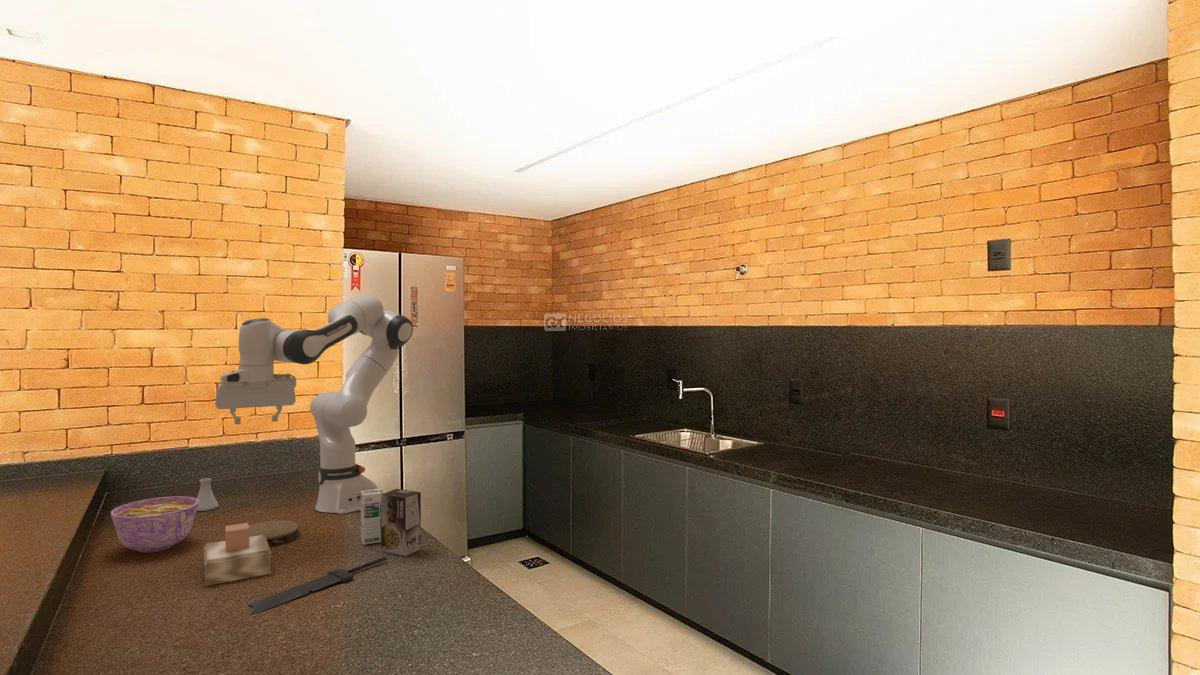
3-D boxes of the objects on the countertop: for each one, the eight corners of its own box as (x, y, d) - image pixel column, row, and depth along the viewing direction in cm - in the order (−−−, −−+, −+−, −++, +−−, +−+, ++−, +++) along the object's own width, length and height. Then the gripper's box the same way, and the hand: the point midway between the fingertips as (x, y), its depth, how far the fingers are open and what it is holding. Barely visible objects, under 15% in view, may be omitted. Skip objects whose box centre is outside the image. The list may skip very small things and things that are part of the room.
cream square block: (265, 555, 167) (265, 533, 167) (271, 573, 155) (271, 549, 155) (204, 566, 159) (204, 543, 159) (204, 586, 147) (204, 561, 147)
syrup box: (362, 545, 175) (362, 494, 175) (360, 539, 180) (360, 489, 180) (384, 542, 178) (384, 492, 177) (381, 536, 183) (381, 487, 183)
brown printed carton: (421, 549, 173) (422, 491, 172) (405, 556, 167) (405, 497, 167) (396, 544, 177) (396, 488, 176) (380, 551, 171) (380, 493, 170)
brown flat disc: (301, 542, 178) (301, 532, 178) (237, 553, 169) (237, 542, 169) (295, 526, 191) (295, 517, 191) (236, 535, 183) (236, 525, 183)
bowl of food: (208, 547, 173) (207, 506, 172) (118, 567, 158) (118, 522, 158) (188, 530, 186) (188, 492, 186) (104, 547, 172) (104, 506, 171)
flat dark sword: (239, 611, 137) (239, 602, 137) (377, 558, 165) (377, 551, 165) (254, 619, 133) (254, 610, 133) (394, 564, 161) (394, 557, 161)
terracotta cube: (247, 541, 160) (247, 522, 160) (249, 547, 156) (249, 528, 156) (225, 545, 158) (225, 526, 158) (226, 551, 153) (226, 531, 153)
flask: (205, 512, 204) (205, 482, 204) (187, 511, 205) (187, 481, 205) (223, 506, 211) (223, 477, 211) (205, 505, 212) (205, 476, 212)
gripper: (294, 372, 186) (294, 418, 186) (214, 375, 175) (215, 423, 175) (297, 374, 181) (297, 421, 181) (215, 376, 170) (215, 427, 170)
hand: (256, 422), depth 178 cm, fingers open, 8 cm apart
